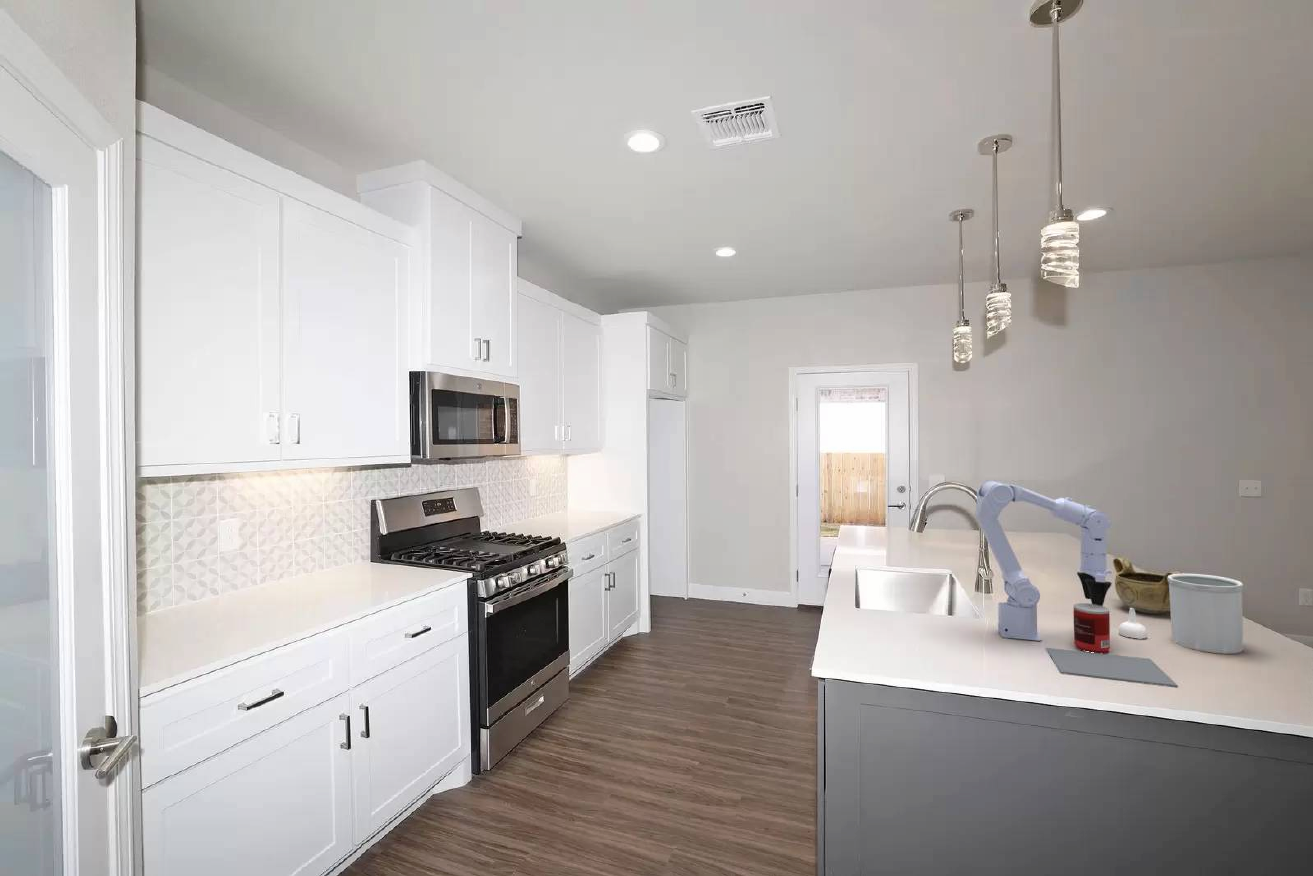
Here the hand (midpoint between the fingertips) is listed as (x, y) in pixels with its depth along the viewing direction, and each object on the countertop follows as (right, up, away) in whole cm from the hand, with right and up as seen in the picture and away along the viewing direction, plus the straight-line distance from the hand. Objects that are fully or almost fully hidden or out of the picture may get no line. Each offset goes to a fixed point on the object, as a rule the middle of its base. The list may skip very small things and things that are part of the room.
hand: (1093, 602), depth 164 cm
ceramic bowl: (+35, -10, +24) cm, 44 cm away
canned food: (-6, -11, -7) cm, 14 cm away
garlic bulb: (+13, -10, +2) cm, 16 cm away
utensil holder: (+26, -10, -6) cm, 28 cm away
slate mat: (-11, -10, -19) cm, 24 cm away
